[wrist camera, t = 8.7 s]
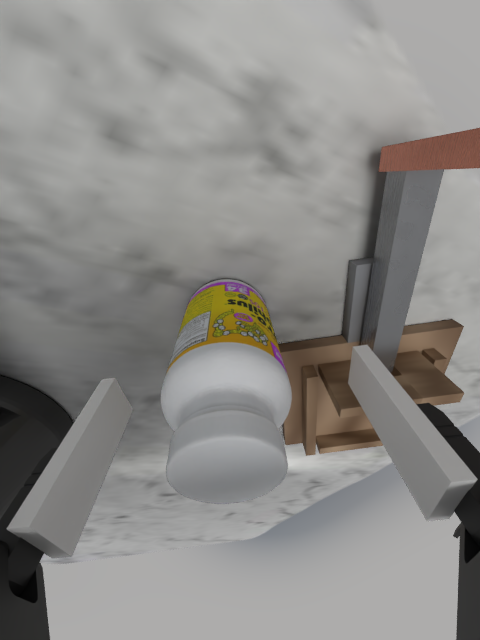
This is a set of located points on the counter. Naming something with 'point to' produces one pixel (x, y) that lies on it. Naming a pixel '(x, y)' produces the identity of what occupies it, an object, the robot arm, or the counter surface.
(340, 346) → the dock
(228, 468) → the supplement bottle
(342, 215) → the counter surface
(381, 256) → the lock pin
